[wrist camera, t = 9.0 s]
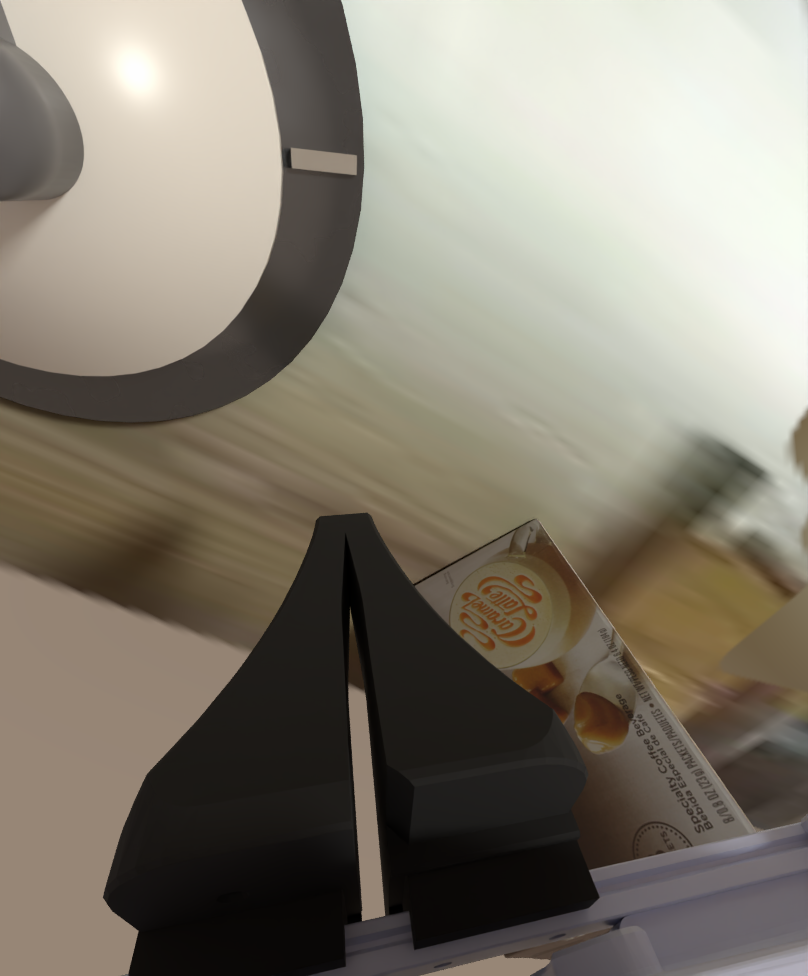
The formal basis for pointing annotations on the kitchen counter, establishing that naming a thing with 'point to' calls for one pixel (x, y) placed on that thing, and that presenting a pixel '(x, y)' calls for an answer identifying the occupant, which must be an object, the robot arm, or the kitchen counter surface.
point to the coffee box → (587, 703)
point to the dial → (131, 180)
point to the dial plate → (297, 249)
